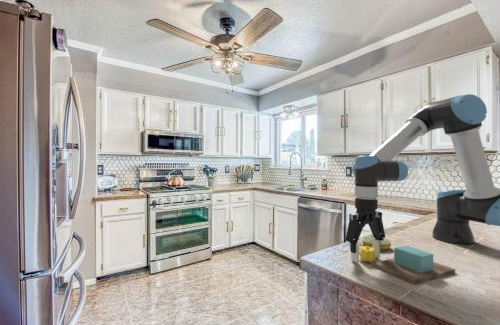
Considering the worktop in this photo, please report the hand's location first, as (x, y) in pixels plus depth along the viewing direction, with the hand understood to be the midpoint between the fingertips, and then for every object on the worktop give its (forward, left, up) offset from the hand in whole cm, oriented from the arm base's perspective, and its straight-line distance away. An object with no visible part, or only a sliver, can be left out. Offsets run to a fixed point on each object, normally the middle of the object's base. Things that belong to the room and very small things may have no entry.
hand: (365, 259), depth 91 cm
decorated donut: (-16, -9, -1) cm, 18 cm away
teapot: (0, 0, -1) cm, 1 cm away
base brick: (-8, +12, +1) cm, 14 cm away
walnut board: (-8, +12, 0) cm, 14 cm away
